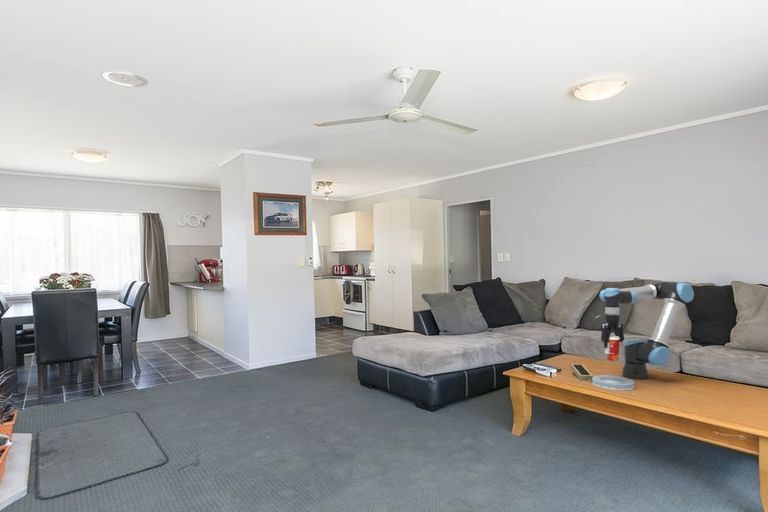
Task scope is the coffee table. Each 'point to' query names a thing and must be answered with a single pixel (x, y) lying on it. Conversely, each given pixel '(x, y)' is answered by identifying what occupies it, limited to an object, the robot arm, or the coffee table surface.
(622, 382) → the ring tray
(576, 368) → the box
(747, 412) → the coffee table surface
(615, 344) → the paper cup
